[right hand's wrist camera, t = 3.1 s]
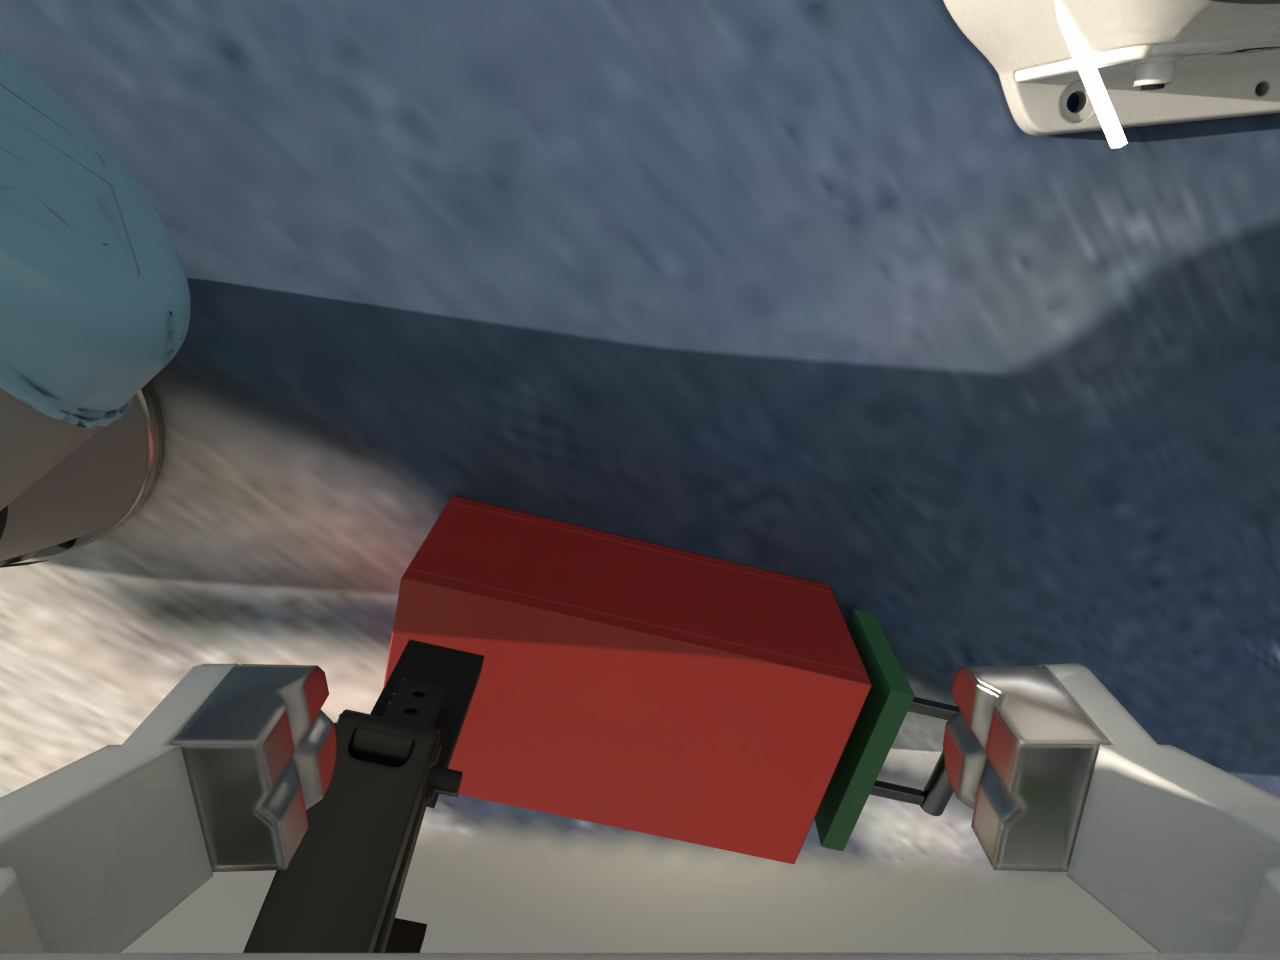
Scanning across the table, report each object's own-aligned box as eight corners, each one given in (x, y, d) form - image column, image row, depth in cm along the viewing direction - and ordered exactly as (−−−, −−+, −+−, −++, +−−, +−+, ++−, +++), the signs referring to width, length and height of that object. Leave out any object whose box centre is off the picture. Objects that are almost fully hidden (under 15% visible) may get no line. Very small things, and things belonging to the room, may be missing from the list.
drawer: (969, 635, 45) (1027, 721, 38) (904, 771, 48) (946, 873, 41) (515, 528, 43) (489, 598, 36) (483, 678, 46) (452, 769, 40)
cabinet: (829, 584, 45) (872, 685, 36) (769, 740, 49) (794, 865, 40) (452, 495, 43) (401, 577, 35) (421, 663, 47) (368, 776, 39)
